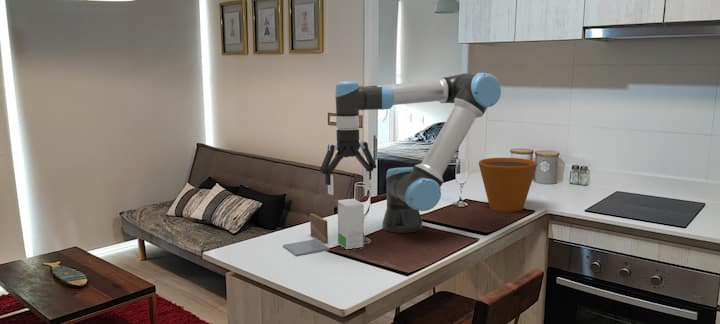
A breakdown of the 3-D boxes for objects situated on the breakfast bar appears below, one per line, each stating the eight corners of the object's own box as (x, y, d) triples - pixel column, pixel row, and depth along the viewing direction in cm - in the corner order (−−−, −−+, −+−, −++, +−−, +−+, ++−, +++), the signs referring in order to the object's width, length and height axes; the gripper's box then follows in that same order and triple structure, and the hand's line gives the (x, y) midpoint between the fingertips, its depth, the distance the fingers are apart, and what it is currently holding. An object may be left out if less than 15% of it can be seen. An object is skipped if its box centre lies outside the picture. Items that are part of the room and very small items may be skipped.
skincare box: (337, 244, 185) (336, 200, 183) (355, 241, 188) (354, 197, 185) (346, 251, 178) (345, 205, 175) (365, 248, 180) (364, 202, 178)
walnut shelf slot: (342, 229, 202) (341, 209, 201) (357, 237, 192) (357, 215, 191) (310, 235, 196) (310, 213, 195) (324, 243, 186) (324, 221, 185)
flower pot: (515, 218, 214) (516, 168, 210) (466, 207, 231) (467, 162, 228) (546, 207, 229) (548, 161, 226) (499, 198, 247) (499, 155, 243)
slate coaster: (314, 240, 190) (314, 239, 189) (329, 249, 179) (329, 248, 179) (282, 246, 184) (282, 244, 184) (296, 256, 173) (296, 254, 173)
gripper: (374, 125, 186) (375, 185, 189) (308, 130, 174) (310, 194, 177) (386, 127, 179) (386, 189, 183) (318, 132, 167) (319, 198, 171)
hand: (348, 192), depth 180 cm, fingers open, 13 cm apart
